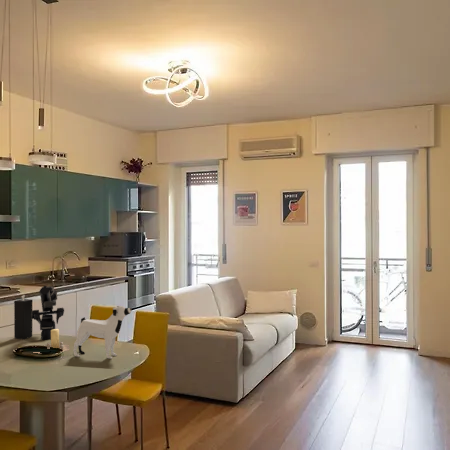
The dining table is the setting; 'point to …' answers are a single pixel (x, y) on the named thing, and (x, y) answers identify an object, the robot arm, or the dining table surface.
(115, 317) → the decorative sculpture
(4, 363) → the dining table surface
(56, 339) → the post
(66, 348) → the board
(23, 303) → the black square column
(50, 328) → the robot arm
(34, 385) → the dining table surface
